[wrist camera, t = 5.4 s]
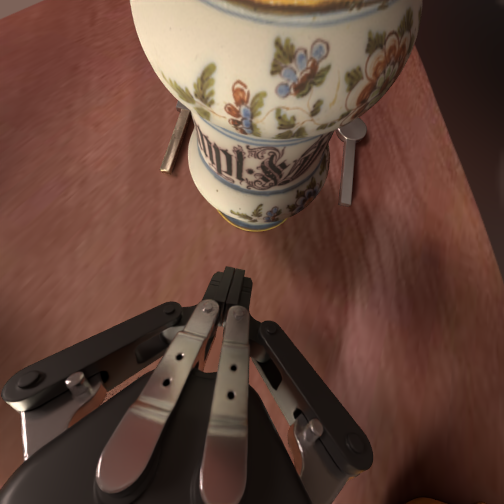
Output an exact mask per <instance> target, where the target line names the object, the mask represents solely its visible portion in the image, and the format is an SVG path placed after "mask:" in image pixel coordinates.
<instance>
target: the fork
mask: <svg viewBox="0 0 504 504" xmlns="http://www.w3.org/2000/svg"><path fill="white" fill-rule="evenodd" d="M176 108H177V111H179V112H180V115H179V118H178V121H177V123H176V126H175V129H174V132H173V134H172V137H171V140H170V143H169V146H168V148H167V151H166V154H165V157H164V159H163V162H162V165H161V168H160V171H161V172H162V173H166V174H171V173H172V170H173V167H174V164H175V161H176V158H177V155H178V152H179V149H180V146H181V143H182V140H183V137H184V135H185V132H186V129H187V126H188V123H189V120H190V117H191V110H190V109H188V108H187V107H186V106H185V105H183V104H182V103H181V102H180V101H179V100H178V103H177V106H176Z"/></svg>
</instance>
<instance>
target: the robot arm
mask: <svg viewBox="0 0 504 504" xmlns="http://www.w3.org/2000/svg"><path fill="white" fill-rule="evenodd" d="M244 274H245V270H242V269H237V268H236V270H235V268H232V267H227V266H226V268H225V270H224V273H223V272H217V273H215V274H214V275H213V277H212V279H211V281H210V284H209V286H208V288H207V290H206V292H205V295H204V297H203V299H202V301H201V302H199V303H198V304H197V305H195V306H191V307H181V305H180V304H179V303H177V302H166V303H164V304H161V305H159V306H157V307H155V308H153V309H151V310H148V311H146V312H144V313H142V314H140V315H138V316H135V317H133V318H131V319H129V320H127V321H125V322H123V323H120V324H118V325H116V326H114V327H112V328H110V329H107V330H105V331H103V332H101V333H99V334H97V335H94V336H92V337H90V338H88V339H86V340H84V341H81V342H79V343H77V344H75V345H73V346H71V347H68V348H66V349H64V350H62V351H60V352H58V353H56V354H53V355H51V356H49V357H47V358H45V359H43V360H40V361H38V362H36V363H34V364H32V365H30V366H27V367H26V368H24V369H22V370H20V371H19V372H17V373H16V374H15V375H14V376H12V377H11V378H10V379H9V380H8V381H7V383H6V384H5V385H4V387H3V389H2V392H1V397H2V399H3V400H4V401H5V402H7V403H8V404H9V405H10V406H11V407H13V408H14V409H15V410H16V411H17V412H19V413H20V414H21V427H22V442H23V456H24V463H23V464H22V465H21V466H20V467H19V468H18V469H17V470H16V471H15V472H14V473H13V474H12V475H11V477H10V478H9V479H8V480H7V482H6V483H5V484H4V486H3V487H2V488H1V490H0V504H332V502H333V501H334V499H335V498H336V496H337V495H338V494H339V492H340V491H341V489H342V488H343V486H344V485H345V483H346V482H347V481H348V480H350V479H352V478H354V477H356V476H358V475H359V474H360V473H361V472H363V471H365V470H367V469H369V468H370V467H371V465H372V463H373V451H372V447H371V445H370V442H369V440H368V438H367V436H366V435H365V433H364V432H363V431H362V429H361V428H360V427H359V426H358V424H357V423H356V422H355V421H354V419H353V418H352V417H351V416H350V414H349V413H348V412H347V411H346V409H345V408H344V407H343V405H342V404H341V403H340V402H339V400H338V399H337V398H336V397H335V395H334V394H333V393H332V392H331V390H330V389H329V388H328V387H327V385H326V384H325V383H324V382H323V380H322V379H321V378H320V377H319V375H318V374H317V373H316V371H315V370H314V369H313V368H312V366H311V365H310V364H309V363H308V361H307V360H306V359H305V358H304V356H303V355H302V354H301V353H300V351H299V350H298V349H297V348H296V346H295V345H294V344H293V342H292V341H291V340H290V339H289V337H288V336H287V335H286V334H285V332H284V331H283V330H282V329H281V327H280V326H279V325H278V324H277V323H275V322H273V321H264V322H262V323H260V322H259V321H257V320H255V319H254V318H253V317H252V316H251V315H250V313H249V305H250V298H251V291H252V284H253V283H252V280H251V278H248V277H244ZM222 323H223V326H222ZM218 326H222V327H224V332H223V342H222V347H221V353H220V359H219V365H218V371H217V372H213V373H204V372H203V370H204V367H205V363H206V361H207V358H208V356H209V353H210V350H211V348H212V345H213V343H214V340H215V337H216V331H217V328H218ZM162 356H163V357H162ZM160 357H162V359H161V360H160V362H159V364H158V365H157V367H156V369H154V370H152V371H150V372H148V373H146V374H144V375H143V376H141V377H140V378H138V379H137V380H136V381H134V382H133V383H131V384H130V385H129V386H127V387H126V388H124V389H123V390H122V391H120V392H119V393H117V394H116V395H115V396H113V397H112V398H110V399H109V400H108V401H106V402H105V403H103V404H102V405H101V403H102V402H103V401H104V399H105V397H106V393H107V392H108V391H110V390H111V389H113V388H114V387H116V386H117V385H119V384H120V383H122V382H123V381H125V380H126V379H128V378H129V377H131V376H133V375H134V374H136V373H137V372H139V371H140V370H142V369H143V368H145V367H146V366H148V365H149V364H151V363H153V362H154V361H156V360H157V359H159V358H160ZM250 357H251V358H252V361H253V363H254V364H255V366H256V368H257V370H258V371H259V373H260V375H261V377H262V378H263V380H264V382H265V383H266V385H267V387H268V389H269V390H270V392H271V394H272V396H273V397H274V399H275V401H276V402H277V404H278V406H279V408H280V409H281V411H282V413H283V415H284V416H285V418H286V420H287V421H288V423H289V425H290V427H289V430H288V444H289V447H290V450H291V452H292V455H293V458H294V465H293V463H292V461H291V459H290V456H289V454H288V452H287V450H286V448H285V446H284V444H283V442H282V440H281V438H280V436H279V434H278V432H277V430H276V428H275V426H274V424H273V422H272V420H271V418H270V416H269V414H268V412H267V410H266V408H265V406H264V404H263V402H262V400H261V398H260V396H259V395H258V393H257V392H256V391H255V390H254V389H253V388H252V387H251V386H250V385H249V358H250ZM294 466H295V467H294Z"/></svg>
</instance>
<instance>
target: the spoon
mask: <svg viewBox="0 0 504 504" xmlns="http://www.w3.org/2000/svg"><path fill="white" fill-rule="evenodd" d="M366 131H367V128H366V125H365V123H364V122H363V121H362V120H361V119H360V118H357V119H355V120H354V121H352V122H350V123H348V124H347V125H345V126H343V127H341V128H338V129H336V134H337V136H338V137H339V138H340V139H341V140H342V141H344V149H343V160H342V171H341V182H340V193H339V204H338V205H341V206H346V207H349V206H350V205H351V196H352V183H353V169H354V155H355V143H358V142H359V141H361V140H362V139H363V137H364V136H365V134H366Z"/></svg>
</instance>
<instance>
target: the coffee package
mask: <svg viewBox="0 0 504 504" xmlns="http://www.w3.org/2000/svg"><path fill="white" fill-rule="evenodd" d="M405 504H446V503H443V502H441V501H438V500H435V499H431V498H426V497H419V498H416V499H413V500H411V501H409V502H407V503H405ZM476 504H487V503H485V502H479V503H476Z"/></svg>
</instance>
